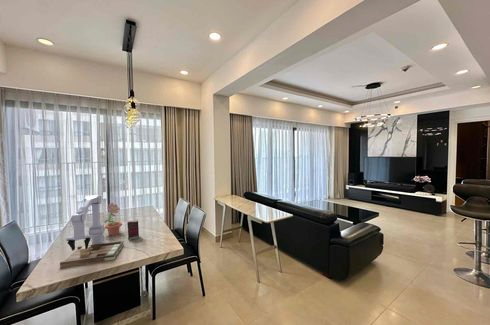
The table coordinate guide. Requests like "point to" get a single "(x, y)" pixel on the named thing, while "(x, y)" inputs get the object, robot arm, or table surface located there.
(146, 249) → the table surface
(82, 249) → the block
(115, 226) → the decorative flower
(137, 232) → the supplement box
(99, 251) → the trap box
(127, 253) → the table surface
